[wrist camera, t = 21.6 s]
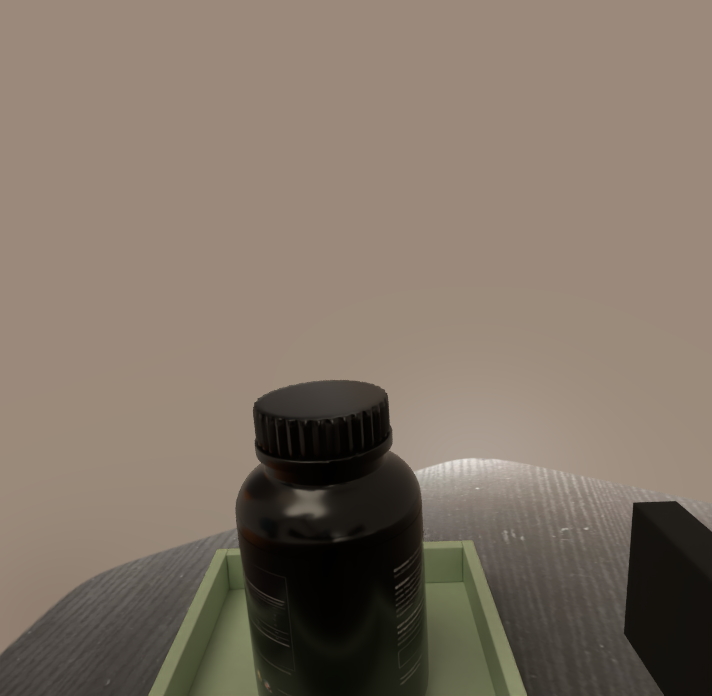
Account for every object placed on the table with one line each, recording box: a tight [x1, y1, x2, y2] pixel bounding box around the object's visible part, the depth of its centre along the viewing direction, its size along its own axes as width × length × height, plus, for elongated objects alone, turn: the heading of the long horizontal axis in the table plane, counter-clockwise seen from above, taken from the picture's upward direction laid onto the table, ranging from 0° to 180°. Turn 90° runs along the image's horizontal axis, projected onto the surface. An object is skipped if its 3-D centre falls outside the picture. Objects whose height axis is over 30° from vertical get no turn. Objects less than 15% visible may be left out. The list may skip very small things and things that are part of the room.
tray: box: [148, 540, 527, 696], centre depth 21 cm, size 13×13×2 cm
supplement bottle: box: [236, 380, 429, 696], centre depth 20 cm, size 7×7×12 cm
